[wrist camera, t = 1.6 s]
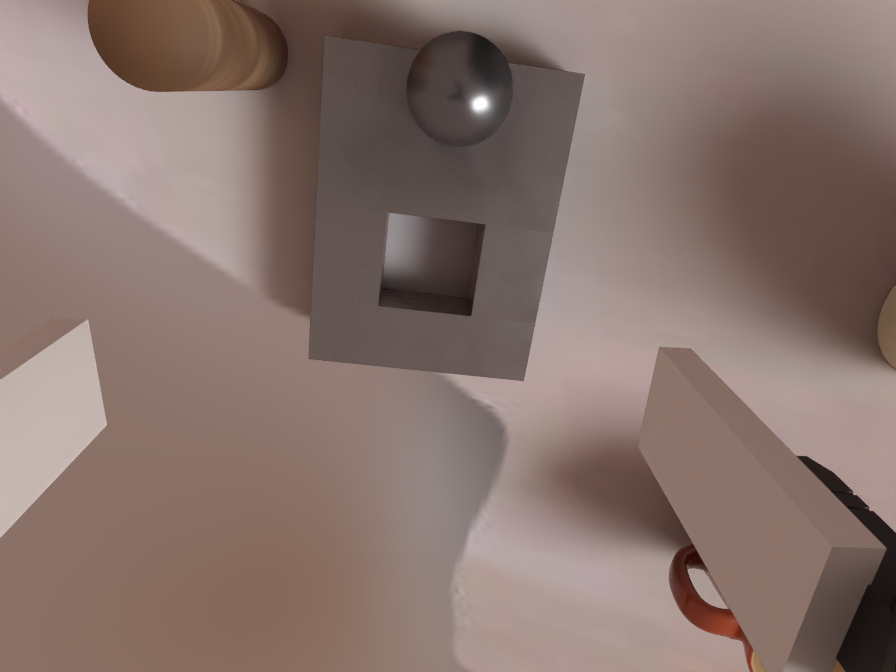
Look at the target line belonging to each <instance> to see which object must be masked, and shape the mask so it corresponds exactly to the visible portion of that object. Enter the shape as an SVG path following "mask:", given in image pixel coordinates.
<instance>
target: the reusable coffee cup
mask: <svg viewBox="0 0 896 672" xmlns="http://www.w3.org/2000/svg"><path fill="white" fill-rule="evenodd" d="M877 334H878V344H879V346H880V349H881V352H882V354H883V356H884V357H885V359H886V360H887V362H888V363H889V364H890V365H891V366H893V367H894V368H895V369H896V284H895V286H894V287H893V288H892V290H891V291H890V293H889V295H888V297H887V298H886V300H885V302H884V304H883V307H882V310H881V313H880V316H879V321H878V329H877Z"/></svg>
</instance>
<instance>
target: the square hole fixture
mask: <svg viewBox="0 0 896 672" xmlns="http://www.w3.org/2000/svg"><path fill="white" fill-rule="evenodd" d="M584 76H585V74H581V73H574V72H567V71H561V70H554V69H547V68H540V67H533V66H527V65H520V64H513V63H507V61H506V59H505V57H504V55H503V54H502V53H501V51H500V50H499V49H498V48H497V47H496V46H495V45H494V44H493V43H492V42H490V41H489V40H488V39H486V38H484V37H482V36H480V35H478V34H475V33H471V32H464V31H457V32H450V33H445V34H443V35H440V36H438V37H436V38H434V39H433V40H431V41H430V42H429V43H427V44H426V45H425V46H424V47H423V48H422V49H421V50H418V49H412V48H405V47H398V46H391V45H385V44H378V43H371V42H364V41H357V40H351V39H344V38H337V37H330V36H324V51H323V72H322V92H321V113H320V133H319V154H318V174H317V195H316V215H315V235H314V256H313V276H312V297H311V317H310V339H309V359H314V360H323V361H333V362H343V363H352V364H362V365H363V364H364V365H372V366H382V367H392V368H401V369H411V370H421V371H431V372H440V373H450V374H460V375H470V376H480V377H489V378H499V379H509V380H519V381H524V377H525V372H526V367H527V362H528V357H529V352H530V347H531V342H532V337H533V332H534V327H535V321H536V316H537V311H538V306H539V301H540V296H541V291H542V286H543V281H544V276H545V271H546V266H547V261H548V256H549V251H550V246H551V241H552V236H553V231H554V226H555V221H556V216H557V211H558V206H559V201H560V196H561V191H562V186H563V181H564V176H565V171H566V166H567V161H568V156H569V151H570V146H571V141H572V136H573V131H574V126H575V121H576V116H577V111H578V106H579V101H580V96H581V91H582V86H583V81H584ZM389 213H397V214H406V215H414V216H422V217H430V218H438V219H446V220H454V221H462V222H470V223H478V224H479V226H478V232H477V239H476V246H475V252H474V259H473V265H472V272H471V279H470V285H469V292H468V298H460V297H451V296H442V295H434V294H425V293H416V292H407V291H398V290H389V289H382V280H383V270H384V259H385V249H386V238H387V228H388V217H389Z"/></svg>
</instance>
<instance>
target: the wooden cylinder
mask: <svg viewBox="0 0 896 672" xmlns="http://www.w3.org/2000/svg"><path fill="white" fill-rule="evenodd" d="M88 24H89V30H90V34H91V38H92V40H93V43H94V45H95V47H96V49H97V51H98V53H99V55H100V56H101V58H102V59H103V61H104V62H105V63H106V65H107V66H108V67H109V68H110V69H111V70H112V71H113V72H114V73H115V74H116V75H117V76H119V77H120V78H121V79H122V80H124V81H126V82H127V83H129V84H131V85H133V86H135V87H138V88H140V89H143V90H148V91H156V92H173V91H232V90H261V89H265V88H268V87H270V86H272V85H273V84H275V83H276V82H277V81H278V80H279V79H280V77H281V76H282V75H283V73H284V71H285V68H286V65H287V58H288V51H287V45H286V41H285V38H284V36H283V34H282V32H281V30H280V29H279V27H278V26H277V25H276V24H275V23H274V22H273V21H272V20H271V19H270V18H269V17H267V16H266V15H264V14H262V13H260V12H258V11H256V10H254V9H252V8H249V7H247V6H245V5H243V4H241V3H238V2H236V1H234V0H89V4H88Z"/></svg>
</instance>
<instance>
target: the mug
mask: <svg viewBox="0 0 896 672" xmlns="http://www.w3.org/2000/svg"><path fill="white" fill-rule="evenodd" d="M690 568H696V569H701V570H704V572H705V573H706V575H707V576H708V577H709V579H710V580H711V582H712V584H713V585H714V587H715V589H716V590H717V592H718V594H719V595H720V597H721V599H722V600H723V602H724V603H725V605H726V606H727V608H728V609H721V608H717V607H714V606H712V605H710V604H708V603H707V602H705V601H704V600H703V599H702V598H701V597H700V596H699V595H698V593H697V592H696V590H695V588H694V586H693V584H692V582H691V580H690V577H689V574H688V571H687V569H690ZM669 584H670V588H671V591H672V594H673V597H674V599H675V601H676V603H677V605H678V607H679V609H680V611H681V612H682V613H683V615H684V616H685V617H686V618H687V619H688V620H689V621H690V622H691V623H692V624H694V625H695V626H696V627H698V628H700V629H702V630H704V631H706V632H709V633H712V634H716V635H721V636H726V637H729V638H731V639H736V640H740V641H742V642H743V646H744V650H745V655H746V660H747V664H748V667H749V670H750V672H766V671H765V669H764V667H763V665H762V664H761V662H760V660H759V658H758V657H757V655H756V653H755V651H754V650H753V648H752V646H751V644H750V643H749V641H748V639H747V637H746V636H745V634H744V632H743V630H742V629H741V627H740V625H739V623H738V622H737V620H736V618H735V616H734V615H733V613H732V611H731V609H730V608H729V606H728V604H727V602H726V601H725V599H724V597H723V595H722V594H721V592H720V590H719V588H718V587H717V585H716V583H715V581H714V580H713V578H712V576H711V574H710V573H709V571H708V569H707V567H706V566H705V564H704V562H703V560H702V559H701V557H700V555H699V553H698V552H697V550H696V548H695V546H694V545H693V544H691V545H688V546H686V547H684V548H682V549H680V550H679V551H678V552H677V553H676V554H675V556H674V558H673V560H672V562H671V565H670V569H669ZM833 672H845V670H844V669H843V668H842V666H841V665H840V663H839V662H838V660H837V663H836V665H835V667H834V670H833Z"/></svg>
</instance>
